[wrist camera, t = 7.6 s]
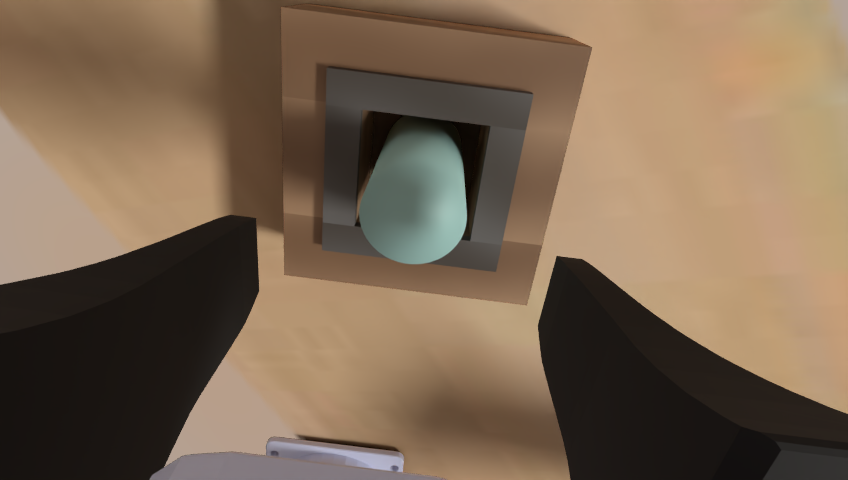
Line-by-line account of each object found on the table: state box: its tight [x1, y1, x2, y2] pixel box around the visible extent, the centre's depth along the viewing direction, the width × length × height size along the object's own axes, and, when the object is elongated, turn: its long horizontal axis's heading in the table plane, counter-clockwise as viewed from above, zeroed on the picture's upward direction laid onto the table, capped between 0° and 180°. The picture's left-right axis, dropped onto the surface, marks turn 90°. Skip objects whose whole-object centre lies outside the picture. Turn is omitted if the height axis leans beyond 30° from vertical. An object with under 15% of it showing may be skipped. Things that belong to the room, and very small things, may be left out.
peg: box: [359, 115, 467, 264], centre depth 18 cm, size 3×3×7 cm
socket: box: [281, 4, 592, 305], centre depth 20 cm, size 10×10×4 cm
